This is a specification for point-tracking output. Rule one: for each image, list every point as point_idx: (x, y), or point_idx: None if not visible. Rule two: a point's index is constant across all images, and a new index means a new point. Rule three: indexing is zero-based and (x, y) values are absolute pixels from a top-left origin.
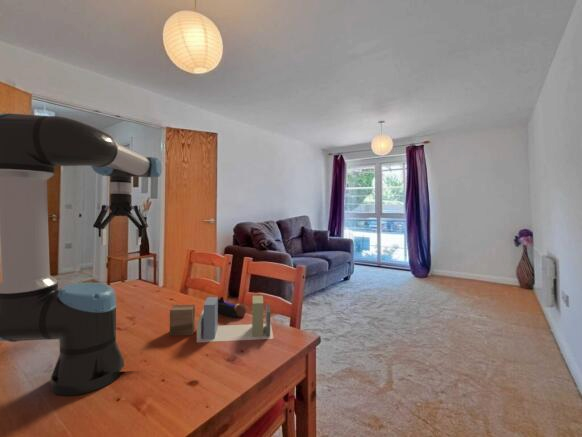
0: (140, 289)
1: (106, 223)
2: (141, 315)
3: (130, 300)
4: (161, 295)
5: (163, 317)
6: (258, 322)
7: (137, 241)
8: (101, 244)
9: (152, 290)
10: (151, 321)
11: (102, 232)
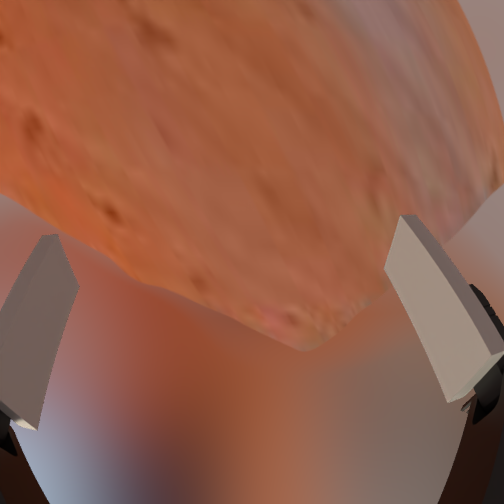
0: (262, 294)
1: (477, 458)
2: (129, 58)
3: (244, 198)
4: (164, 245)
5: (55, 54)
6: None
7: (30, 263)
8: (415, 219)
9: (220, 287)
10: (75, 19)
11: (474, 318)
